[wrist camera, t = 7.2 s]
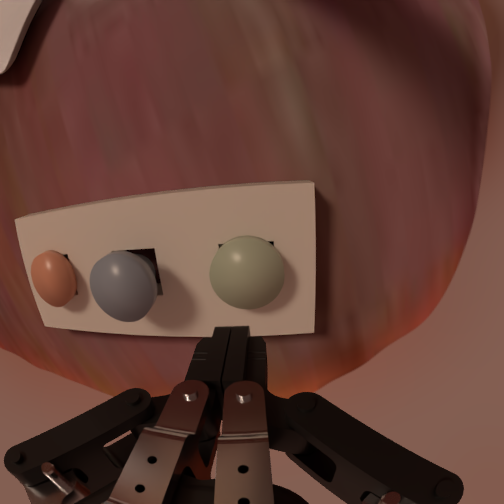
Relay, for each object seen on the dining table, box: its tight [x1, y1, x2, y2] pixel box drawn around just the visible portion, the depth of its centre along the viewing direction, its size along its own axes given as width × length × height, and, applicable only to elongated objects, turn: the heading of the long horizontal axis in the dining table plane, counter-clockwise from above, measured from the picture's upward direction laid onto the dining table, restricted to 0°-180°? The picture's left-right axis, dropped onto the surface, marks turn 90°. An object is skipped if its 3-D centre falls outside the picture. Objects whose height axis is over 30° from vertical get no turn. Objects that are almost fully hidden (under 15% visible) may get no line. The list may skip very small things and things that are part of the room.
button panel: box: [15, 180, 316, 337], centre depth 23 cm, size 28×12×2 cm, turn 94°
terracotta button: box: [31, 250, 77, 307], centre depth 23 cm, size 5×5×4 cm
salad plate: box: [0, 0, 42, 74], centre depth 13 cm, size 21×21×3 cm
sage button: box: [209, 235, 285, 310], centre depth 22 cm, size 5×5×4 cm
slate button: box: [90, 251, 157, 322], centre depth 20 cm, size 5×5×4 cm
